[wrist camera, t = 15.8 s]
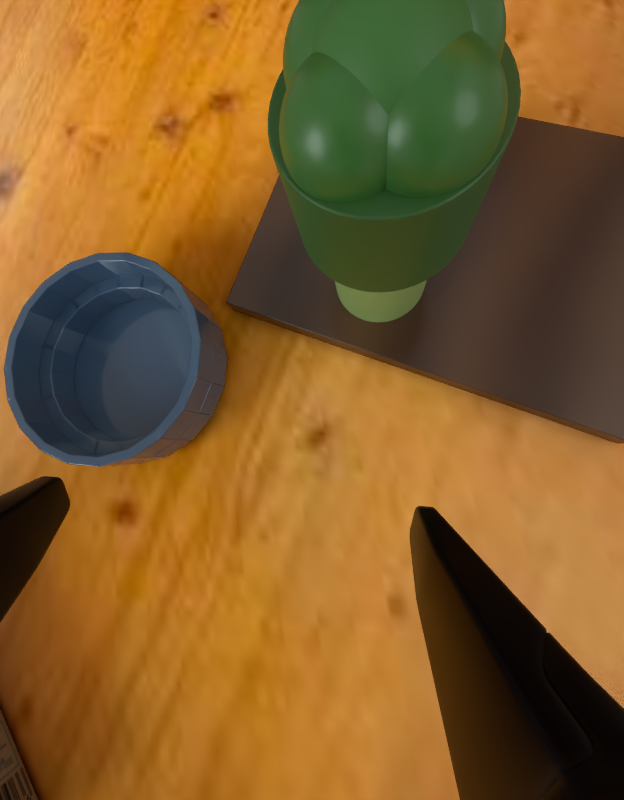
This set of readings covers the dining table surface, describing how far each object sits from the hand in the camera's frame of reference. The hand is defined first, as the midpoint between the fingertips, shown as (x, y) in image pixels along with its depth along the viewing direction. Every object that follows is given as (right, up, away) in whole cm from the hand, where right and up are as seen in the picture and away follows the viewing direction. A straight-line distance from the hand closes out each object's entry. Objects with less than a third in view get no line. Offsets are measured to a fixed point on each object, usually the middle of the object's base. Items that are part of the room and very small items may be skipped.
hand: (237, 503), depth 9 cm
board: (+10, +11, +12) cm, 19 cm away
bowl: (-9, +4, +14) cm, 17 cm away
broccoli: (+6, +9, +11) cm, 15 cm away
